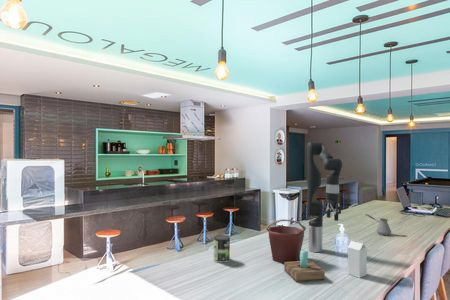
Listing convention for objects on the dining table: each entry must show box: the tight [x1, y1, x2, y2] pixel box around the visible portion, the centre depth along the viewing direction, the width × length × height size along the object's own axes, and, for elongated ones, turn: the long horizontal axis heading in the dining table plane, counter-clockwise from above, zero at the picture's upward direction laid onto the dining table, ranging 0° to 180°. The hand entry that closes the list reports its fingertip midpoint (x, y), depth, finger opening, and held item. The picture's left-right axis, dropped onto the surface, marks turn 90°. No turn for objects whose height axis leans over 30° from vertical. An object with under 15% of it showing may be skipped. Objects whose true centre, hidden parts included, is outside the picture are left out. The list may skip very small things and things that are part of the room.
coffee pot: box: [365, 213, 392, 237], centre depth 263 cm, size 21×12×15 cm, turn 42°
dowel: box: [299, 250, 309, 268], centre depth 169 cm, size 4×4×12 cm
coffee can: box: [213, 234, 231, 264], centre depth 193 cm, size 10×10×14 cm
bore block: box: [283, 260, 326, 283], centre depth 169 cm, size 16×16×5 cm
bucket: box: [265, 218, 307, 265], centre depth 195 cm, size 24×22×25 cm
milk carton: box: [347, 238, 368, 279], centre depth 171 cm, size 7×7×19 cm
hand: (332, 219), depth 184 cm, fingers open, 8 cm apart
